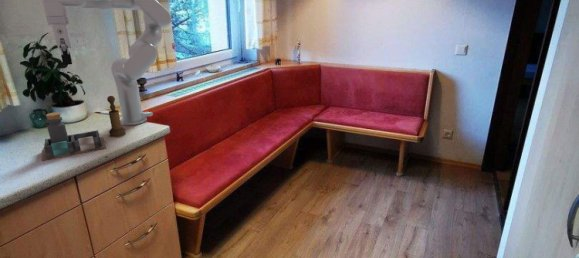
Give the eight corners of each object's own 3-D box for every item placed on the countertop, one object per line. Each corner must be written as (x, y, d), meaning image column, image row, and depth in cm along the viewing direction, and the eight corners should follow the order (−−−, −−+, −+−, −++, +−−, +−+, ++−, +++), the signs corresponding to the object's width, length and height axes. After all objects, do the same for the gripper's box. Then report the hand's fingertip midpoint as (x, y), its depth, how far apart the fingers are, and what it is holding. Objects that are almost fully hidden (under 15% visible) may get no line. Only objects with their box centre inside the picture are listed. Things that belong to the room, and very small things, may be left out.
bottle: (73, 146, 142) (65, 111, 136) (64, 152, 136) (54, 116, 131) (60, 146, 142) (51, 111, 137) (50, 152, 137) (40, 116, 132)
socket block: (103, 138, 152) (100, 126, 150) (106, 148, 141) (103, 135, 139) (43, 148, 141) (40, 136, 140) (42, 161, 130) (38, 147, 128)
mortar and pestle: (129, 132, 158) (122, 94, 152) (119, 137, 152) (111, 98, 146) (117, 131, 160) (109, 93, 154) (106, 136, 154) (98, 97, 148)
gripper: (68, 21, 136) (78, 64, 142) (68, 19, 150) (77, 59, 155) (46, 21, 132) (57, 66, 138) (47, 20, 146) (57, 61, 152)
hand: (67, 62), depth 147 cm, fingers open, 9 cm apart
